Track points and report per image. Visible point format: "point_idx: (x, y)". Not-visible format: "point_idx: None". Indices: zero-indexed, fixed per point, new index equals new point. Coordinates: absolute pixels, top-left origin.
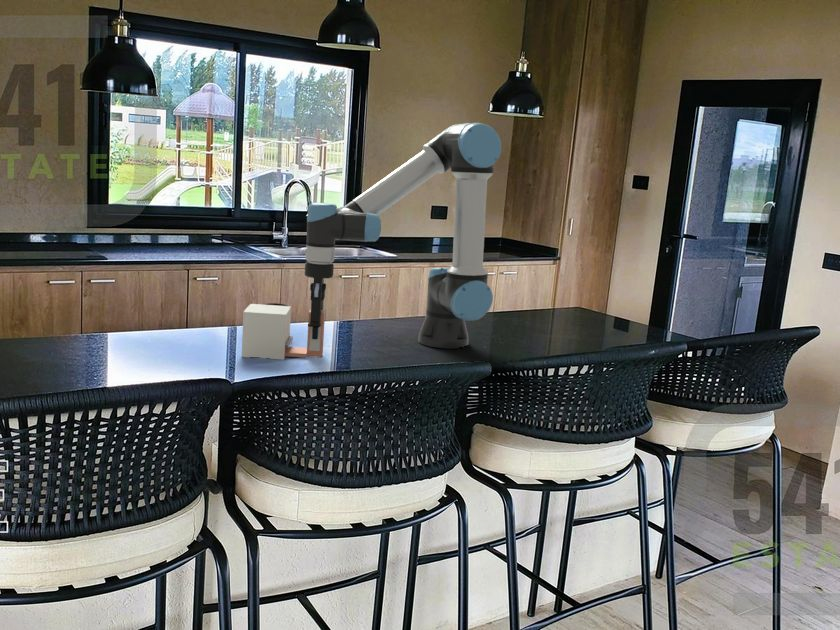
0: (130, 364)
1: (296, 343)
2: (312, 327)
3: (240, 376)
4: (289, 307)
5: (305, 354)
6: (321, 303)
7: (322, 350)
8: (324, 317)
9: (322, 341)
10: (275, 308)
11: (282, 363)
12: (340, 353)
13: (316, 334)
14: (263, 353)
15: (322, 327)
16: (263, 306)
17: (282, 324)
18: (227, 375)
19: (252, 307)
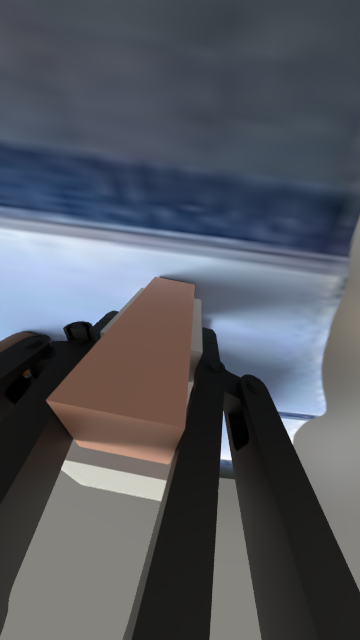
0: (224, 453)
1: (65, 320)
2: (194, 373)
3: (306, 410)
4: (69, 461)
5: None
6: (173, 633)
7: (172, 285)
8: (111, 357)
9: (193, 304)
10: (114, 479)
11: (237, 360)
12: (125, 213)
13: (216, 345)
14: None
15: (190, 340)
16: (99, 483)
17: None
18: (293, 418)
19: (126, 492)
